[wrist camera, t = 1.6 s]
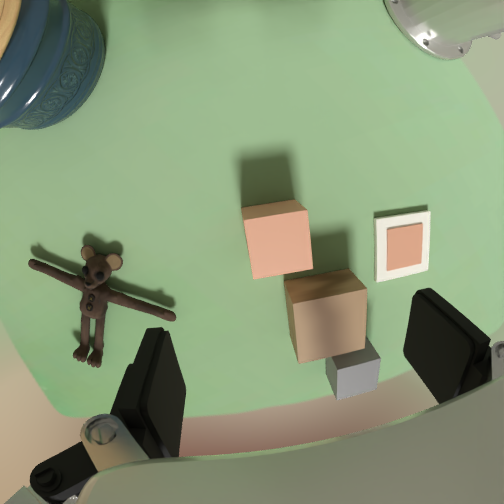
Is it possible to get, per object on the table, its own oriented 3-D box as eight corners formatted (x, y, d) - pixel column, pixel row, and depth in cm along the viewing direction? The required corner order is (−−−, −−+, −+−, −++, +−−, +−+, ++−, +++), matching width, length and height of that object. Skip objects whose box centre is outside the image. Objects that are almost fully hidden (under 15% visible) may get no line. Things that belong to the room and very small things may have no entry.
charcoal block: (364, 333, 34) (380, 358, 29) (362, 363, 36) (376, 389, 31) (325, 342, 34) (337, 369, 29) (325, 373, 36) (336, 400, 31)
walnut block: (348, 267, 31) (367, 288, 26) (349, 323, 33) (364, 348, 29) (283, 280, 31) (292, 303, 26) (290, 335, 33) (298, 363, 29)
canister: (51, 5, 18) (-45, -50, 2) (133, 34, 21) (42, -58, 5) (-5, 106, 21) (-121, 109, 5) (66, 149, 25) (-72, 172, 8)
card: (427, 210, 29) (431, 211, 28) (425, 268, 32) (428, 270, 31) (373, 218, 29) (377, 220, 28) (374, 280, 31) (377, 283, 31)
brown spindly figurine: (24, 338, 28) (16, 233, 23) (39, 318, 32) (38, 218, 27) (155, 391, 31) (183, 295, 26) (162, 366, 35) (190, 272, 30)
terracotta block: (294, 199, 28) (307, 210, 23) (300, 249, 30) (313, 268, 25) (241, 207, 28) (243, 220, 23) (249, 258, 30) (253, 279, 25)
